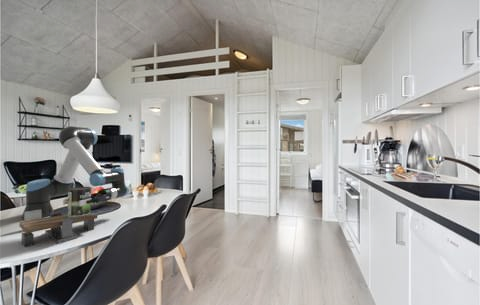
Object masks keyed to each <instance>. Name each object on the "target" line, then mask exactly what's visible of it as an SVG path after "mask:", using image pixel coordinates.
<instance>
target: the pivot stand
mask: <svg viewBox="0 0 480 305" xmlns="http://www.w3.org/2000/svg"><path fill="white" fill-rule="evenodd" d="M58 215H62V212H54V213H53V214H51V215H50V217H52V216H58ZM83 229H85V231H88V232H89V231H92V230H95V219H92V220H87V221H83ZM44 231H45V232H44V234H45V235H46V236H47V237H49V238H50V239H51V240H52V241H53V242H54V243H56V244H60V243H64V242H68V241H71V240H75V239H78V237H79V236H78V235H79V234H76V233H75V232H74V231H73V224H72V218H70V219H65V220H61V226H59V227H54V228H50V229H45V230H44ZM34 240H35V239H34V232H31V233H26V232H25V231H24V232H22V233H21V244H22V246H23V247H24V248H25V247H30V246H34Z"/></svg>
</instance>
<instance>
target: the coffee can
mask: <svg viewBox="0 0 480 305" xmlns="http://www.w3.org/2000/svg"><path fill="white" fill-rule="evenodd" d="M91 194H92V187H91V186H75V188H70V189H68V194H67V199H68V204H67V214H68V216H69V217H80V216H85V215H88V214H90V213H91V212H92V210H91V209H92V207H91V206H92V205H91V204H92V203H91V204H87V205H83V206H79V201H81V200H85V199H90V198H91Z"/></svg>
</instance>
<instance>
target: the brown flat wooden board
mask: <svg viewBox="0 0 480 305" xmlns="http://www.w3.org/2000/svg"><path fill="white" fill-rule="evenodd" d="M70 218H72V225H73V224H77V223H82V222H84V221H87V220H92V219H94V220H95V219H98V214H97V213H95V212H92V211H91V213H90V214H88V215H85V216H80V217H69V216H68V213H64V214H61V215H58V216H52V217H51V216H47V217H43V218H41V219H36V220H30V221H25V222H24V221H20V222H19V227H20V228H21V230H22V231H23V232H24V233H25V232H26V233H31V232H32V233H35V232H40V231H46V230H50V229H51V228H54V227H59V226H61V220H65V219H70Z"/></svg>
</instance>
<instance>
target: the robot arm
mask: <svg viewBox="0 0 480 305" xmlns="http://www.w3.org/2000/svg"><path fill="white" fill-rule="evenodd" d="M58 139H59V143H60V145H61V146H62V147H63V148H64V149H67V150H68V151H67V152H68V153H67V154H66V156H65V159H64V161H63V162H62V163H63V164H62V165H61V167H60V170H59V172H58V174H55V175H54V176H53V178H52V179H49V178H41V179H35V180H32V181H28V182H27V183H26V187H25V196H26V197H25V203H26V204H25V207H24V210H23V212H22V216H21V217H22V219H23V220H24V213H25V212H28V211H35V210H41V213H42V218H47V217H51V214H53V213H55V212H54V208H53V206H52V203H51V198H55V197H60V196H66V195H68V189H70V188H75V187H76V183H75V179H74V175H75V173H76V171H77V170H78V167H79V165H80V166H81V167H82V168H83V169H84V171H85V172H86V173H87V174H88V175H89V178H88V179H89V184H90V185H91V186H93V187H101V186H104V185H105V186H106V185H111V186H110V187H107V188H103V189H99V190H98V191H97V192H94V193H91V198H90V199H85V200H81V201H79V206H83V205H87V204H95V203H96V204H100V203H104V202H108V201H112V200H114V199H119V198H123V197H124V196H125V197H126V196H127V195H128V194H130V193H129V192H130V188H129V186H128V185H127V184H126V181H125V171H124V168H123V167H117V168H115V167H114V168H111V169H110V171H107V172H106V171H105V170H104V169H103V168H102V167H101V166H100V164H99V163H98V162H97V161H96V160H95V159H94V157H93V156H92V154H91V153H90V152H88V150H89V149H90V148H91V146H93V145H95V144H96V143H97V142H98V134H97V132H96V130H94V129H93V128H89V127H82V126H81V127H80V126H65V127H64V128H62V129H61V130H60V131H59V135H58ZM62 205H68V198H65V199H63V200H62Z"/></svg>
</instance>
